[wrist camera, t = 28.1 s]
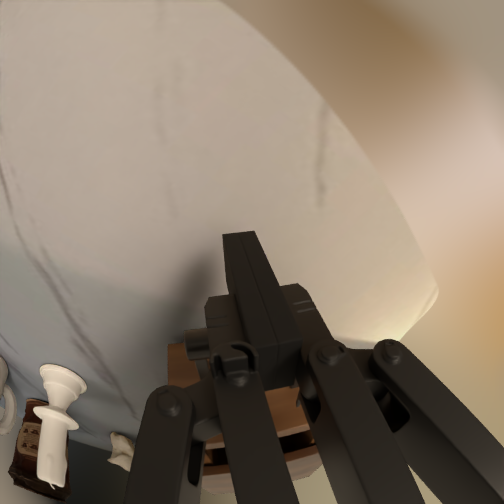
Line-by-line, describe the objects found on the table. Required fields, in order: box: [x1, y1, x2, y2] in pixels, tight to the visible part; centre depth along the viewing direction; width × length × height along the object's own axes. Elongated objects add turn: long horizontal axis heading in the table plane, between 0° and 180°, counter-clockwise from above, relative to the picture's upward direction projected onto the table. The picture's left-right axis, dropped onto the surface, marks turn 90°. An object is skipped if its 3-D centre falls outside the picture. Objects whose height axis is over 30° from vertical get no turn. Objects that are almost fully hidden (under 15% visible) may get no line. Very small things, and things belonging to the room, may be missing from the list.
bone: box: [108, 432, 135, 472], centre depth 28 cm, size 9×14×8 cm, turn 10°
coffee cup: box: [8, 399, 72, 503], centre depth 17 cm, size 9×8×13 cm
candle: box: [33, 364, 87, 489], centre depth 15 cm, size 5×5×12 cm
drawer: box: [168, 328, 316, 467], centre depth 18 cm, size 20×10×8 cm, turn 1°
